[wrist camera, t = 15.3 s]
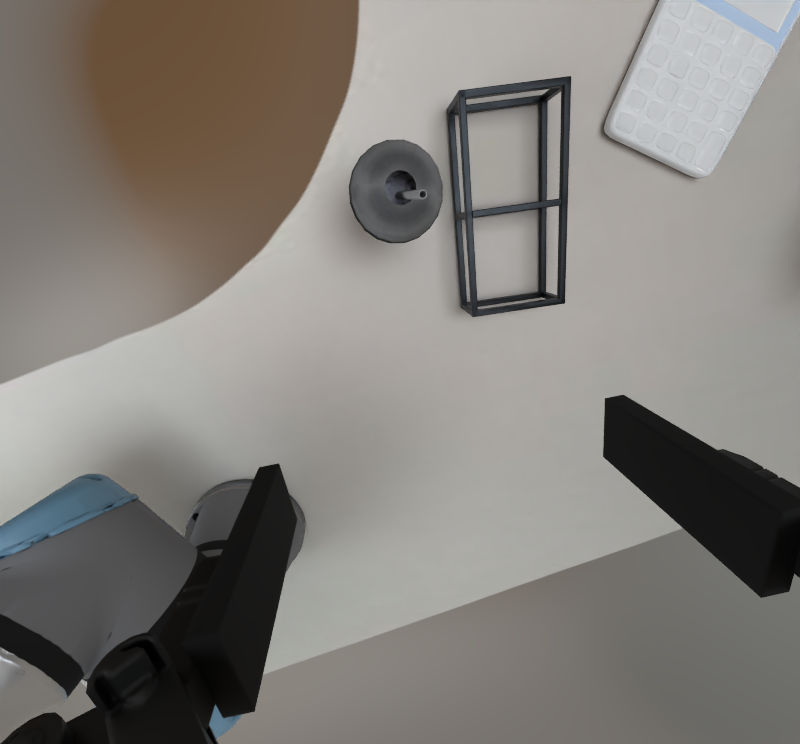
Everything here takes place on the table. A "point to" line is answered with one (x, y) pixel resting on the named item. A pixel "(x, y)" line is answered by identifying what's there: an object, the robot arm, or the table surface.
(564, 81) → the rack
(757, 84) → the calculator
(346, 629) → the table surface
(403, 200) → the beverage cup
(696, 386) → the table surface
